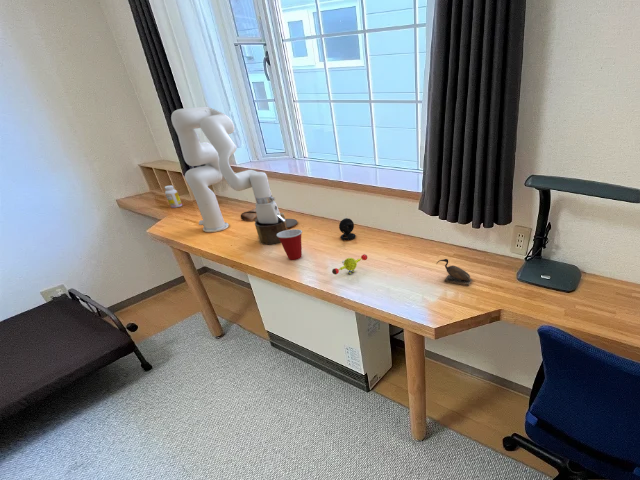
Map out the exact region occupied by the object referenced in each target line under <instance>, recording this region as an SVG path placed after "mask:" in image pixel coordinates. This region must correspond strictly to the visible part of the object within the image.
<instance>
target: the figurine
mask: <svg viewBox="0 0 640 480" xmlns="http://www.w3.org/2000/svg"><path fill="white" fill-rule="evenodd" d="M439 262H445V265H444V267H445V270H446V273H447V274H448V275H446V277H445V279H444V282H445V283H450V284H454V285H455V284H456V285H461V286H466V287H470V284H471V283H472V281H473V278H471V275H470V274H469V273H468V272H467V271H466V270H464V269H462V268H460V267H459V266H456V265H449V266H448V264H449V259H448V258H444V259H439V260H438V261H437V262H436V264H438V263H439Z"/></svg>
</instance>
